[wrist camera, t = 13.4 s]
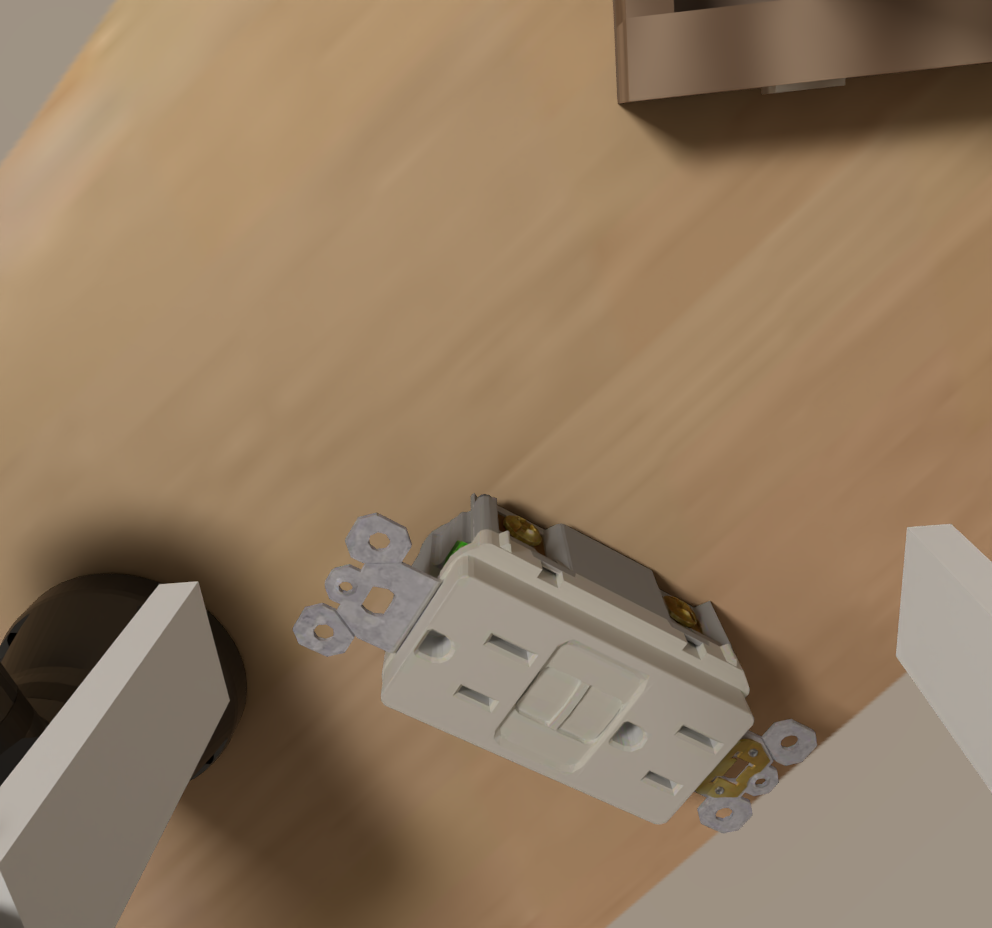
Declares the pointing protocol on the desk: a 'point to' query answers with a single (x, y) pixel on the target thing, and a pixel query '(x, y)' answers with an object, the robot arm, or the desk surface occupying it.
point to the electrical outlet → (558, 662)
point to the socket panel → (788, 43)
